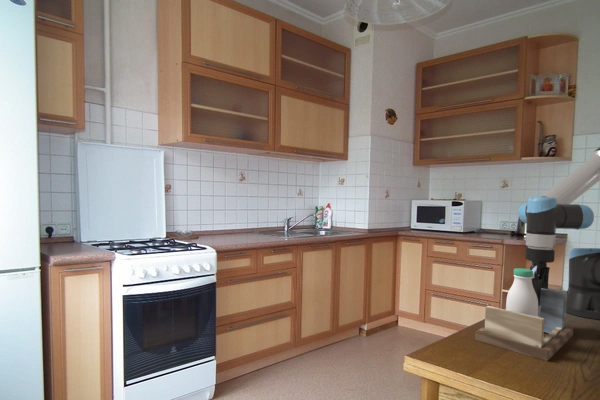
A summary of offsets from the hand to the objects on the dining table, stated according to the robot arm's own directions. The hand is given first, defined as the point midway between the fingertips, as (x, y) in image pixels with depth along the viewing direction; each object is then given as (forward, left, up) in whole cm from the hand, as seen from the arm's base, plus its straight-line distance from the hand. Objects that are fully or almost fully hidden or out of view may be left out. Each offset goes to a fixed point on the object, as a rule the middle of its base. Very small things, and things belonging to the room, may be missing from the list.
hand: (536, 324), depth 115 cm
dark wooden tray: (+10, +5, -1) cm, 12 cm away
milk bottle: (+14, +6, -2) cm, 15 cm away
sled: (+9, +4, -1) cm, 10 cm away
